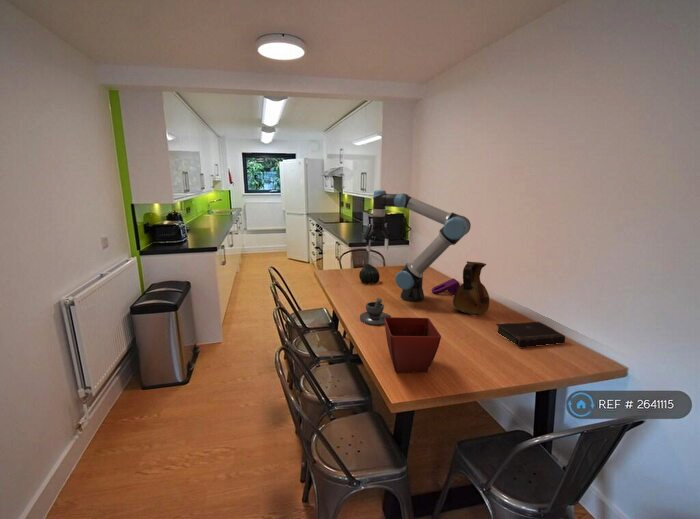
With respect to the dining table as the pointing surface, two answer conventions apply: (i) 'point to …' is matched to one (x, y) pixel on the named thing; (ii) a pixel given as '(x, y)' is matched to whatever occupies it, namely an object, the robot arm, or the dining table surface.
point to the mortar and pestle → (375, 308)
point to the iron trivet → (375, 322)
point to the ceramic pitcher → (472, 291)
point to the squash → (369, 274)
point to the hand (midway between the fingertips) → (377, 250)
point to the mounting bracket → (447, 287)
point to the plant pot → (411, 343)
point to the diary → (530, 334)
